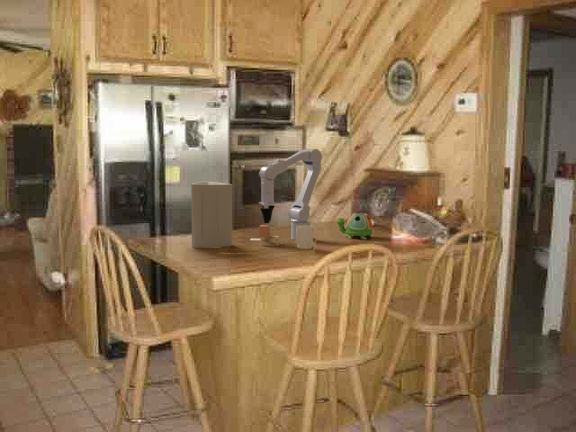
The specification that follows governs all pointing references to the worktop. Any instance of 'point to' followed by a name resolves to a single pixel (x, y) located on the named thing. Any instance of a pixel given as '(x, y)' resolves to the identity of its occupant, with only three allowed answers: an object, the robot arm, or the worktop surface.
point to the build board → (259, 240)
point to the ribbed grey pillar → (211, 214)
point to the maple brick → (269, 240)
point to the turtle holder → (357, 226)
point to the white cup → (304, 236)
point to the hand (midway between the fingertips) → (267, 222)
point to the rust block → (264, 231)
